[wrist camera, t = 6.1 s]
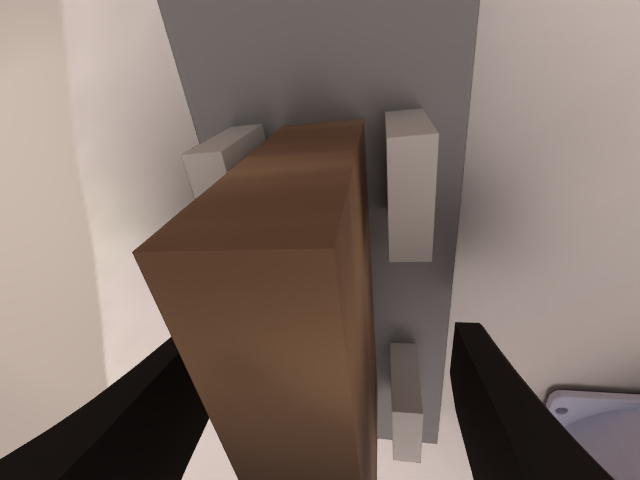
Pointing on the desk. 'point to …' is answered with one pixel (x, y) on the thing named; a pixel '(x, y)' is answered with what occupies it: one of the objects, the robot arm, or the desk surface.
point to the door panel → (279, 305)
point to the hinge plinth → (380, 143)
